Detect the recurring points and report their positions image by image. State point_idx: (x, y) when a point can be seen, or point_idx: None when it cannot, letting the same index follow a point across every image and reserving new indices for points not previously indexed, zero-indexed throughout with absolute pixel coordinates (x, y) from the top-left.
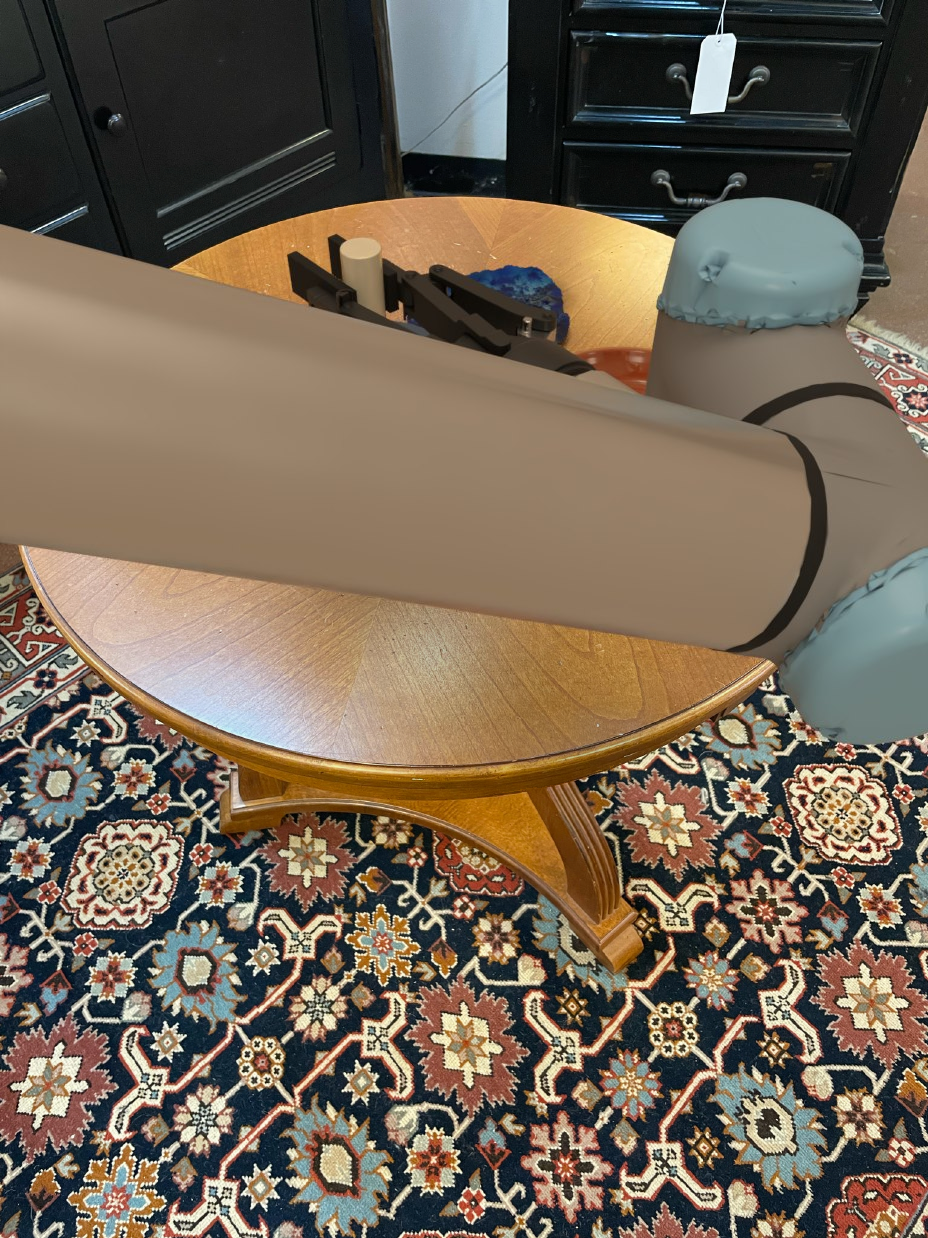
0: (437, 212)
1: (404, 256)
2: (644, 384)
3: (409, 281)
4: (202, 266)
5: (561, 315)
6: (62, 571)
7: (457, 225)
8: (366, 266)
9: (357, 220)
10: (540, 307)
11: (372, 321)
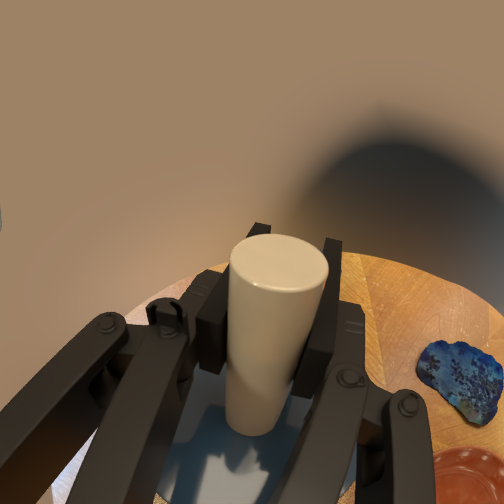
0: (478, 304)
1: (451, 314)
2: (491, 489)
3: (328, 392)
4: (364, 256)
5: (494, 408)
6: (131, 321)
7: (482, 316)
8: (244, 298)
9: (444, 284)
10: (489, 394)
11: (125, 399)
